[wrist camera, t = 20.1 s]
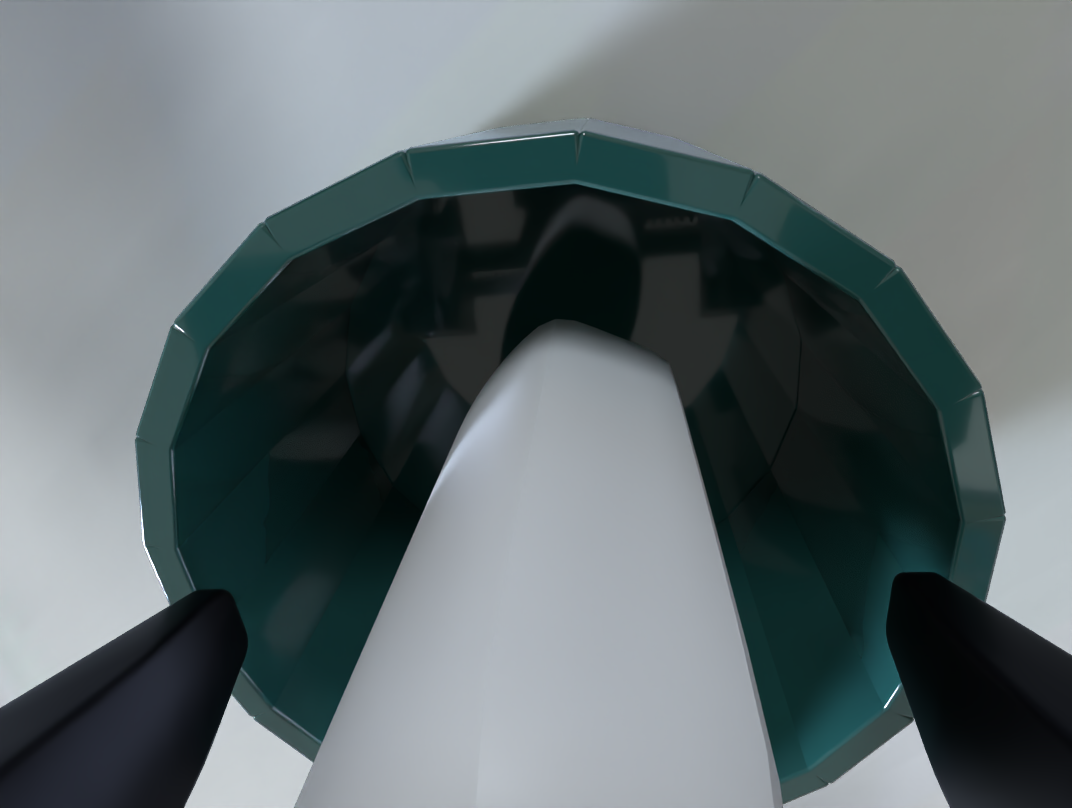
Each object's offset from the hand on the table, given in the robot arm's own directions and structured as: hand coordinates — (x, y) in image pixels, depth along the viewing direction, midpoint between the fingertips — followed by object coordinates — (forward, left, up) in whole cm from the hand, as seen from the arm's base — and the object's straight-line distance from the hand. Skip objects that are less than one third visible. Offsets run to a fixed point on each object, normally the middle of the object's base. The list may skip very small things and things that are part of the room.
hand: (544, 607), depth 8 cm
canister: (0, 0, -7) cm, 7 cm away
